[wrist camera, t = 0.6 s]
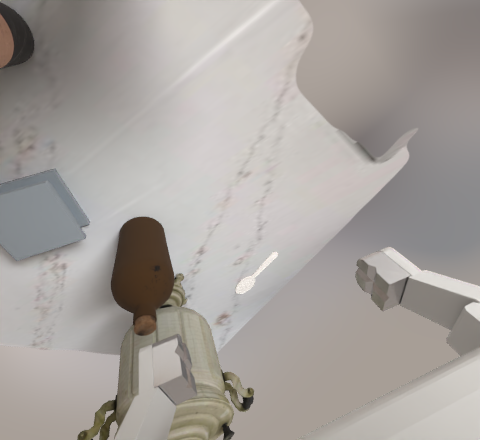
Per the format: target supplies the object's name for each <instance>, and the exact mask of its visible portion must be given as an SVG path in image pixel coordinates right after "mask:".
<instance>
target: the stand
mask: <svg viewBox="0 0 480 440" xmlns="http://www.w3.org/2000/svg"><path fill="white" fill-rule="evenodd" d="M89 223H90V221H89V219H88V218H87V216H86V215H85V213H84V212H83V210H82V209H81V207H80V206H79V204H78V203H77V201H76V200H75V198H74V197H73V195H72V194H71V192H70V191H69V189H68V188H67V186H66V185H65V183H64V182H63V180H62V179H61V177H60V175H59V174H58V172H57V171H56V169H52V170H48V171H45V172H41V173H37V174H34V175H30V176H27V177H23V178H20V179H16V180H13V181H9V182H5V183H2V184H0V245H1V246H2V247H3V248H4V249H5V250H6V251H7V252H8V253H9V254H10V255H11V256H12V257H13V258H14V259H15V260H16V261H19V260H22V259H25V258H28V257H31V256H34V255H37V254H40V253H43V252H46V251H49V250H52V249H56V248H59V247H62V246H65V245H68V244H71V243H74V242H77V241H80V240H83V239H85V238H86V235H85V233H84V232H83V230H82V229H81V228H80V227H82V226H85V225H89Z"/></svg>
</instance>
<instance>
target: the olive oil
mask: <svg viewBox="0 0 480 440" xmlns="http://www.w3.org/2000/svg"><path fill="white" fill-rule="evenodd" d="M173 287H174V272H173V268H172V264H171V260H170V256H169V252H168V247H167V243H166V238H165V233H164V229H163V227H162V225H161V224H160V223H159V222H158V221H156V220H155V219H152V218H149V217H136V218H133V219H131V220H129V221H127V222H126V223H125V224H124V225H123V226H122V228H121V230H120V235H119V242H118V248H117V254H116V259H115V264H114V269H113V274H112V280H111V290H112V294H113V297H114V299H115V301H116V302H117V304H118V305H119V306H120V307H122V308H123V309H125V310H127V311H129V312H131V313H134V316H133V325H134V332H135V334H136V335H139V336H146V335H150V334H152V333H153V332H154V331H155V330H156V321H157V318H156V310H157V309H158V308H160V307H161V306H162V305H163V304H164V303H165V302H166V301H167V300H168V299H169V297H170V296H171V294H172V291H173Z"/></svg>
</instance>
